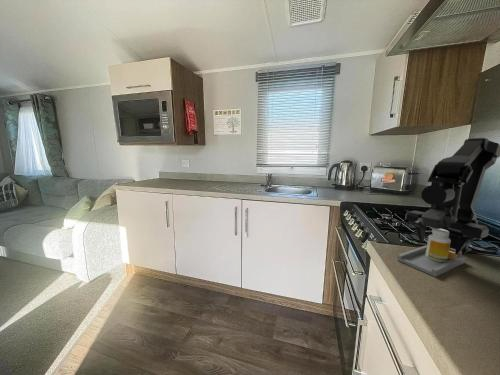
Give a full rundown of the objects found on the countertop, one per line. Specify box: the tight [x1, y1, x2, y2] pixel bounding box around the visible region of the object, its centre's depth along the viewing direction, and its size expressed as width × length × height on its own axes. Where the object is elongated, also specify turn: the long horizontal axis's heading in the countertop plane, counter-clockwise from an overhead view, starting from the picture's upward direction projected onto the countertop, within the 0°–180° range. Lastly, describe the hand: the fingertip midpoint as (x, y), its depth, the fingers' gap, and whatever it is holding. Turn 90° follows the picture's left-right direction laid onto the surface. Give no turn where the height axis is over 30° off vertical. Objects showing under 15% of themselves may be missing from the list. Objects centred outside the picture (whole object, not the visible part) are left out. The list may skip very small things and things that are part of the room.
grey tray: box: [396, 244, 466, 278], centre depth 65 cm, size 18×10×3 cm, turn 116°
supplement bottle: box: [426, 227, 451, 262], centre depth 66 cm, size 5×5×10 cm
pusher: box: [448, 251, 457, 260], centre depth 68 cm, size 1×7×3 cm, turn 26°
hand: (437, 248), depth 67 cm, fingers open, 9 cm apart
